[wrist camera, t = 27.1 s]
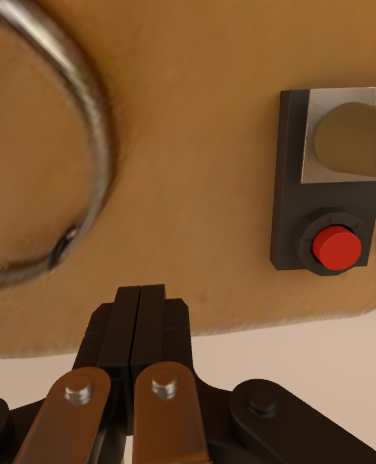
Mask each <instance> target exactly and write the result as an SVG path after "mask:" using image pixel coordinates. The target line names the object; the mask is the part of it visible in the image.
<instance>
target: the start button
mask: <svg viewBox="0 0 376 464" xmlns="http://www.w3.org/2000/svg"><path fill="white" fill-rule="evenodd" d="M313 252H314V254H315V256H316V257H317V258H318V259H319V260H320V261H321V263H322V264H323V265H324V266H325V267H327V268H329V269H331V270H343V269H346V268H348V267H350V266H351V265H353V264H354V263H355V262H356V261H357V259H358V258H359V256H360V253H361V243H360V240H359V239H358V237H356V236H355V235H354V234H353V233H351V232H350V231H348V230H347V229H346V228H344V227H341V226H329V227H327V228H325V229H323V230H321V231H320V232H319V233H318V234H317V235H316V237H315V239H314V241H313Z"/></svg>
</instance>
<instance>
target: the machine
mask: <svg viewBox="0 0 376 464" xmlns="http://www.w3.org/2000/svg"><path fill="white" fill-rule="evenodd" d="M308 96H309V90H288V91H281V99H280V114H279V129H278V144H277V159H276V174H275V189H274V204H273V219H272V234H271V249H270V261H271V262H272V264H273V265H274V267H275V269H276V270H295V269H307V270H309V271H311V272H313V273H315V274H317V275H319V276H333V275H339V274H341V273H343V272H345V271H347V270H349V269H351V268H353V267H358V266H367V263H368V257H369V252H370V246H371V241H372V236H373V230H374V225H375V219H376V181H356V182H330V183H305V184H301V183H300V181H301V170H302V160H303V149H304V139H305V128H306V117H307V107H308ZM329 226H341V227H344V228H346V229H347V230H348V231H350V232H351V233H353V234H354V235H355V236H356V237H358V239H359V240H360V243H361V253H360V256H359V258H358V259H357V261H356V262H355V263H354V264H353V265H351V266H350V267H348V268H346V269H343V270H331V269H329V268H327V267H325V266H324V265H323V264H322V263H321V261H320V260H319V259H318V258H317V257H316V256H315V254H314V252H313V241H314V239H315V237H316V235H317V234H318V233H319V232H320V231H321V230H323V229H325V228H327V227H329Z"/></svg>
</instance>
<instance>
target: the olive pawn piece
mask: <svg viewBox="0 0 376 464" xmlns="http://www.w3.org/2000/svg"><path fill="white" fill-rule="evenodd" d="M314 145H315V152H316V155H317V158H318V160H319V161H320V162H321V163H322V165H323V166H324V167H326V168H328V169H329V170H331V171H334V172H340V173H347V174H355V175H362V176H369V177H376V107H375V106H372V105H368V104H365V103H359V102H349V103H343V104H341V105H339V106H337V107H336V108H334V109H332V110H331V111H330V112H329V113H328V114H327V115H326V116H325V117H324V118H323V119H322V121H321V123H320V124H319V126H318V128H317V131H316V135H315V138H314Z"/></svg>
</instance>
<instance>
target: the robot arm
mask: <svg viewBox="0 0 376 464" xmlns="http://www.w3.org/2000/svg"><path fill="white" fill-rule="evenodd" d="M131 435H133V452H132V464H376V451H375V450H374V449H372V448H371V447H369V446H368V445H366V444H365V443H364V442H362V441H361V440H359V439H358V438H356V437H355V436H353V435H352V434H350V433H349V432H347V431H346V430H344V429H343V428H342V427H340V426H339V425H337V424H336V423H334V422H333V421H331V420H330V419H329V418H327V417H325V416H324V415H323V414H321V413H320V412H318V411H317V410H315V409H314V408H312V407H311V406H310V405H308V404H306V403H305V402H303V401H302V400H301V399H299V398H298V397H296V396H295V395H293V394H292V393H291V392H289V391H288V390H286V389H285V388H283V387H282V386H280V385H278V384H277V383H274V382H272V381H269V380H264V379H250V380H247V381H244V382H242V383H240V384H239V385H237V386H236V387H235V388H234V390H233V391H227V390H222V389H218V388H215V387H212V386H210V385H208V384H206V383H205V382H203V381H202V380H201V379H200V378H199V377H198V376H197V374H196V373H195V370H194V368H193V360H192V347H191V335H190V323H189V311H188V306H187V305H186V304H185V303H184V301H183V300H182V299H181V298H177V299H166V292H165V284H158V285H143V286H142V287H141V286H127V287H119V288H118V290H117V294H116V297H115V301H114V303H102V304H101V305H100V306H99V307H98V308H97V309H96V310H95V311H94V312H93V313H92V316H91V319H90V321H89V324H88V327H87V330H86V332H85V336H84V338H83V340H82V343H81V346H80V349H79V351H78V354H77V357H76V360H75V362H74V365H73V368H72V371H70V372H68V373H66V374H64V375H63V376H62V377H60V378H59V379H58V380H57V381H56V382H55V383H54V384H53V386H52V387H51V389H50V391H49V393H48V395H47V397H46V398H44V399H42V400H40V401H37V402H34V403H31V404H28V405H25V406H22V407H19V408H16V409H13V410H10V411H9V408H8V405H7V403H6V402H5V401H4V400H3V399H1V398H0V464H124V457H123V456H124V450H125V443H126V436H131Z"/></svg>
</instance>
